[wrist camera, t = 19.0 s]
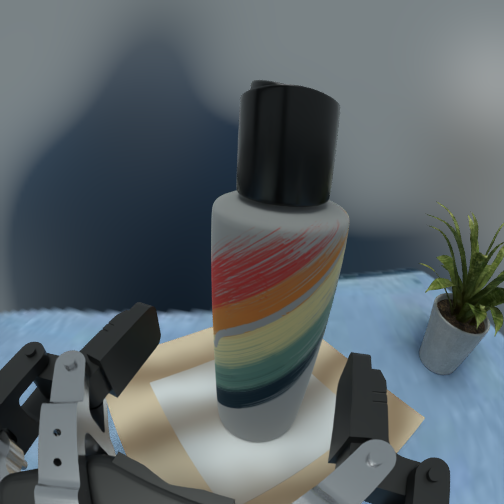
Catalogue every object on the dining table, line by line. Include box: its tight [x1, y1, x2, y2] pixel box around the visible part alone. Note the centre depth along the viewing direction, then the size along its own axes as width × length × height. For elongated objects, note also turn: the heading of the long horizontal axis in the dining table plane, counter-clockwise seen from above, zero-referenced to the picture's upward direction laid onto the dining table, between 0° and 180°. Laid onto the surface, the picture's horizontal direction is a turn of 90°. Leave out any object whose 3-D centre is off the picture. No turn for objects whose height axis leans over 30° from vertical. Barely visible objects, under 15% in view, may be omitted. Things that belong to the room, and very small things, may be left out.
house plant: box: [419, 204, 504, 375], centre depth 20 cm, size 14×14×16 cm
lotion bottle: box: [211, 80, 349, 442], centre depth 13 cm, size 6×6×20 cm
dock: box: [106, 327, 425, 504], centre depth 18 cm, size 20×20×1 cm
